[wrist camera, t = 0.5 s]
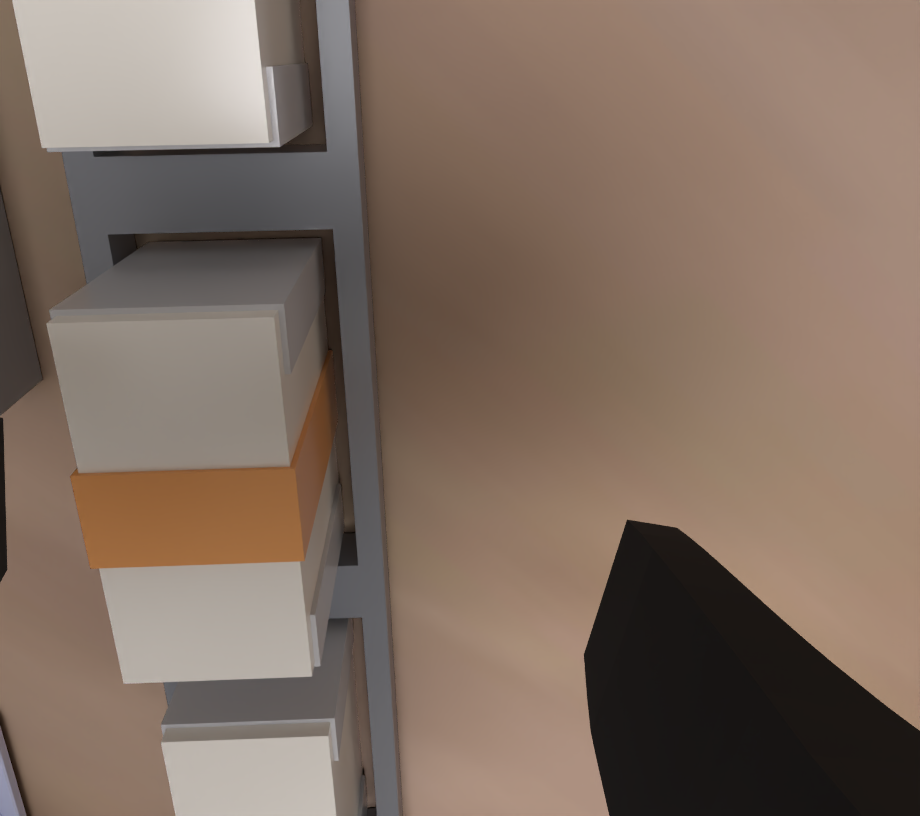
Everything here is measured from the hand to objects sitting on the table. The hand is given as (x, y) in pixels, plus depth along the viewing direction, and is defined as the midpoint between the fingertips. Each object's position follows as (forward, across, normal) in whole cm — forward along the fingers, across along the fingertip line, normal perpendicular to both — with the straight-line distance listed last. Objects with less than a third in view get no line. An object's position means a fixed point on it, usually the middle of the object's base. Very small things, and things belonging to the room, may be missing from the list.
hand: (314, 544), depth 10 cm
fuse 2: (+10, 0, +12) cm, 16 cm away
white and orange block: (+10, +2, +3) cm, 11 cm away
